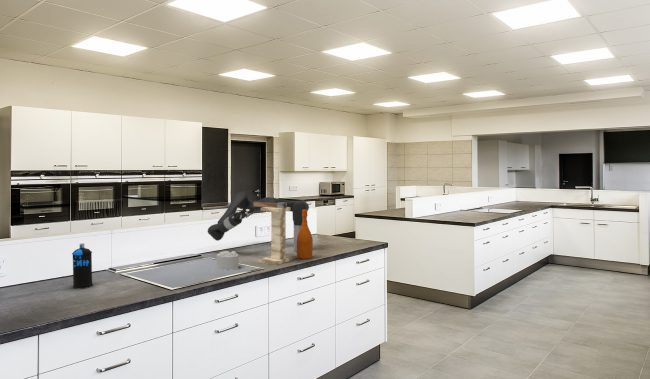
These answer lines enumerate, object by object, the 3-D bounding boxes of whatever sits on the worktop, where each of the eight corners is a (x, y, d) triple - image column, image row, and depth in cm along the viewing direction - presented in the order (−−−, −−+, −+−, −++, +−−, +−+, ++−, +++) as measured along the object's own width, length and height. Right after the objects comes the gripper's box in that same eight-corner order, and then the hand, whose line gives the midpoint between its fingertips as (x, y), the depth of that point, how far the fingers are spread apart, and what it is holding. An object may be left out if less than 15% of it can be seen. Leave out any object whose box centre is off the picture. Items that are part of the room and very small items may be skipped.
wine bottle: (315, 257, 277) (315, 209, 275) (308, 260, 268) (308, 210, 266) (301, 255, 281) (301, 208, 279) (293, 258, 272) (293, 209, 270)
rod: (256, 205, 272) (256, 201, 271) (286, 207, 261) (286, 202, 261) (252, 206, 268) (252, 201, 268) (282, 208, 257) (282, 203, 257)
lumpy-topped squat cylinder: (229, 264, 256) (229, 249, 256) (243, 267, 247) (243, 252, 247) (214, 267, 249) (213, 251, 248) (227, 270, 240) (227, 254, 239)
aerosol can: (77, 284, 211) (76, 242, 210) (95, 283, 212) (94, 242, 211) (69, 288, 203) (68, 245, 202) (88, 288, 204) (87, 245, 203)
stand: (274, 257, 274) (274, 205, 272) (292, 260, 268) (292, 206, 266) (258, 262, 260) (258, 207, 259) (276, 265, 254) (276, 209, 252)
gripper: (222, 216, 273) (240, 204, 266) (237, 214, 286) (255, 203, 279) (227, 227, 272) (245, 215, 265) (242, 225, 284) (260, 213, 277)
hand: (250, 209), depth 272 cm, fingers open, 8 cm apart
